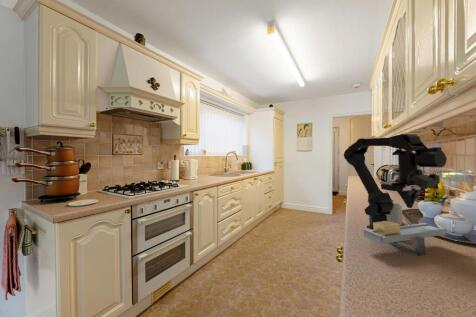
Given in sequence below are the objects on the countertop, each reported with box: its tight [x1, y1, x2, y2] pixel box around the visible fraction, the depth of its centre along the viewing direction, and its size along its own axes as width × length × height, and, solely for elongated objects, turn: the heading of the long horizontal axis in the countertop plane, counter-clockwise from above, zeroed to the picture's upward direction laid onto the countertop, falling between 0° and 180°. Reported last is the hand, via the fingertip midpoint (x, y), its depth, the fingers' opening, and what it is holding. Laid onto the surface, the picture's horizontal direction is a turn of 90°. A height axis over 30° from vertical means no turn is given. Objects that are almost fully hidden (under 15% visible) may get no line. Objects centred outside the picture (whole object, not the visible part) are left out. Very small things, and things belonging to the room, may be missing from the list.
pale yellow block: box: [373, 221, 401, 237], centre depth 69 cm, size 4×6×4 cm
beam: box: [363, 222, 448, 245], centre depth 70 cm, size 8×26×3 cm, turn 100°
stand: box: [389, 236, 426, 257], centre depth 70 cm, size 11×2×6 cm, turn 10°
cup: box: [386, 202, 403, 226], centre depth 97 cm, size 7×10×9 cm
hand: (409, 207), depth 77 cm, fingers closed
